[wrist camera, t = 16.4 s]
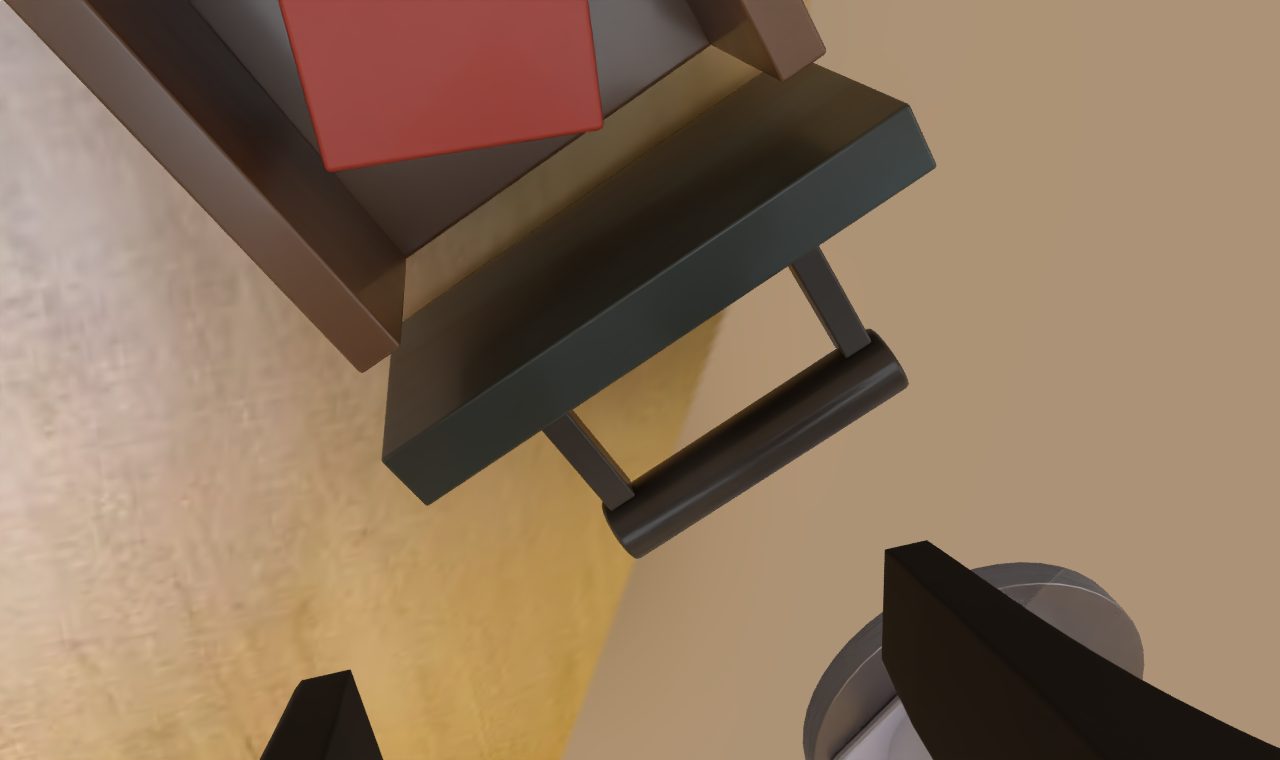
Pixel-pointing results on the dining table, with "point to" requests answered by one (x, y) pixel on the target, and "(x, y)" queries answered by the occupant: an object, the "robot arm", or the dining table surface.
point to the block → (441, 75)
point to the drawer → (534, 233)
